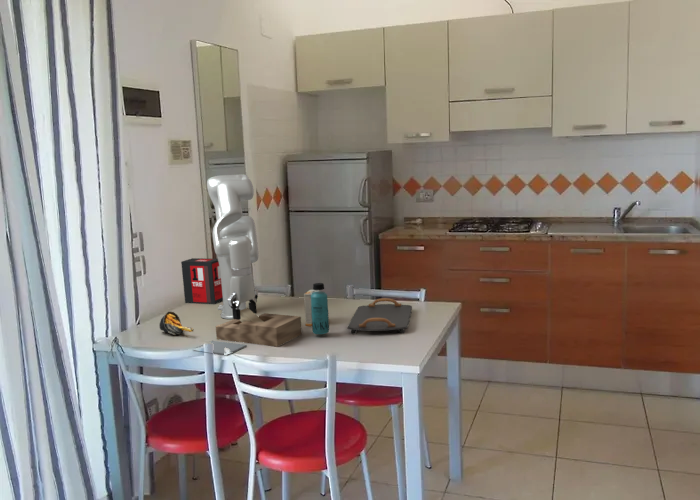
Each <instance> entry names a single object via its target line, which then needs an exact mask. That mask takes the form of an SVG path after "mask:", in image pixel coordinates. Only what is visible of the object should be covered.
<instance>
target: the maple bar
mask: <svg viewBox="0 0 700 500" xmlns="http://www.w3.org/2000/svg"><path fill="white" fill-rule="evenodd" d="M240 315H241V319H240V321H241V322H245V321H250V322H260V323H263V321H262V320H261V319H260V318H259V315H257V314H256V313H253V312H252V311H251V310H250V309H249V307H246V309H243V310H240Z"/></svg>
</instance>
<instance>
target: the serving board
mask: <svg viewBox="0 0 700 500" xmlns="http://www.w3.org/2000/svg"><path fill="white" fill-rule="evenodd" d="M381 302H390V303H381ZM377 303H378V304H377ZM379 303H380V304H379ZM412 309H413V306H412V305H410V304H402V303H400V302H398V301H397V300H395V299H394V298H386V297H383V298H377V299H375V300H374V301H372V303H369V304H368V305H360V306H358V307H357V309H356V311H355V313H354V314H353V316H352V318H350V319H351V320H350V322H349V323H348V326H347V329H348V330H350V333H351V334H352V335H354V334H357V331H363V332H367V331H368V332H371V331H372V332H376V331H377V332H380V331H381V332H382V331H396V330H397V331H398V333H399V334H404V333H405V329H407V328H408V327H409V323H410V318H411V317H412V315H411V314H412V313H413V312H412Z"/></svg>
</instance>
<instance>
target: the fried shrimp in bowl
mask: <svg viewBox="0 0 700 500" xmlns="http://www.w3.org/2000/svg"><path fill="white" fill-rule="evenodd" d="M159 330H160V331H162V332H165V333H167V334H170V335H172V336H176V335H182V334H184V332H188V333H192V332H194V328H193V327H187V326H183V325H182V323H181V319H180V316H179V315H178V314H177V313H175V311H168V312H166V313H165V314H164V315H163V316H162V317H161V319H160V322H159Z"/></svg>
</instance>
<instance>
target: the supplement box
mask: <svg viewBox="0 0 700 500" xmlns="http://www.w3.org/2000/svg"><path fill="white" fill-rule="evenodd" d="M318 291H321V290H313V289H308V290H307V291H306V292H305V293H303V298H304V299H303V302H304V315H305V317H304V318H305V326H306V327H312V317H311V315H312V312H311V295H312V293H314V292H318Z"/></svg>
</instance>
